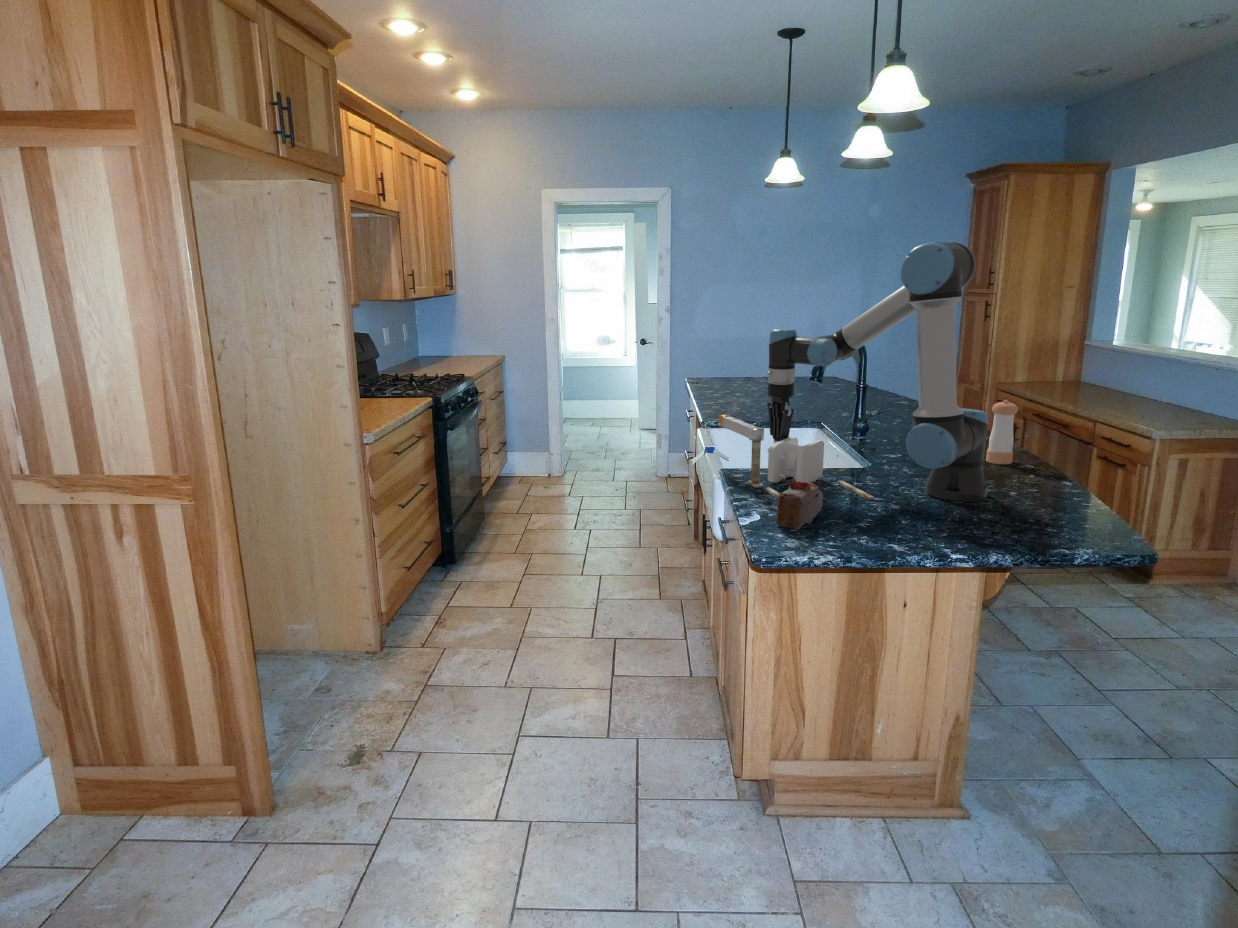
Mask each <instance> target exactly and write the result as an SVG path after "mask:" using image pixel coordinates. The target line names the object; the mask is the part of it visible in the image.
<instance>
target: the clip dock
mask: <svg viewBox="0 0 1238 928" xmlns="http://www.w3.org/2000/svg"><path fill="white" fill-rule="evenodd" d="M761 444H762V442H761V441H752V440H751V465H750V466H751V471H750V472H751V473H750V480H747V484H748V485H751V486H752V487H753V488H763V487H764V485H763V483H761V481H760V480H761V479H760V478H761V447H762V445H761ZM836 481H837V482H836V484H837V483H838V484H837V485H839V486H841V487H843V488H845V489H847V490H849V491H851V492H853V494H857V496H860V497H862V498H864V499H866V500H868V501H874V500H875V497H874V496H873V495H871V494H869V493H867V492H865V491H864V490H861V489H860V488H857V487H856V486H854V485H852V484H850V483H848V482H846V481H844V480H841V479H840V480H836ZM764 491H765V492H767V493H768V494H770V495H771V496H773V497H774V498H776V499H777V500H778V497H779V494H781V493H780V492H778V491H777V490H775V489H773V488H772V487H770V486H769V487H764Z"/></svg>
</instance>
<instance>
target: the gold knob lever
mask: <svg viewBox="0 0 1238 928" xmlns="http://www.w3.org/2000/svg"><path fill="white" fill-rule="evenodd" d="M718 426H719V427H720V428H725V429H727V430H730V431H731V432H734V433H736V434H739V435H741V436H743V437H746V438H748V440H749V441H751V442H752V441H764V440H765V428H764V427H759V426H755V425H752V424H750V423H748V422H745V421H743V420H740V419H737V418H735V417H732V416H731V415H730V414H719V416H718Z"/></svg>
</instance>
